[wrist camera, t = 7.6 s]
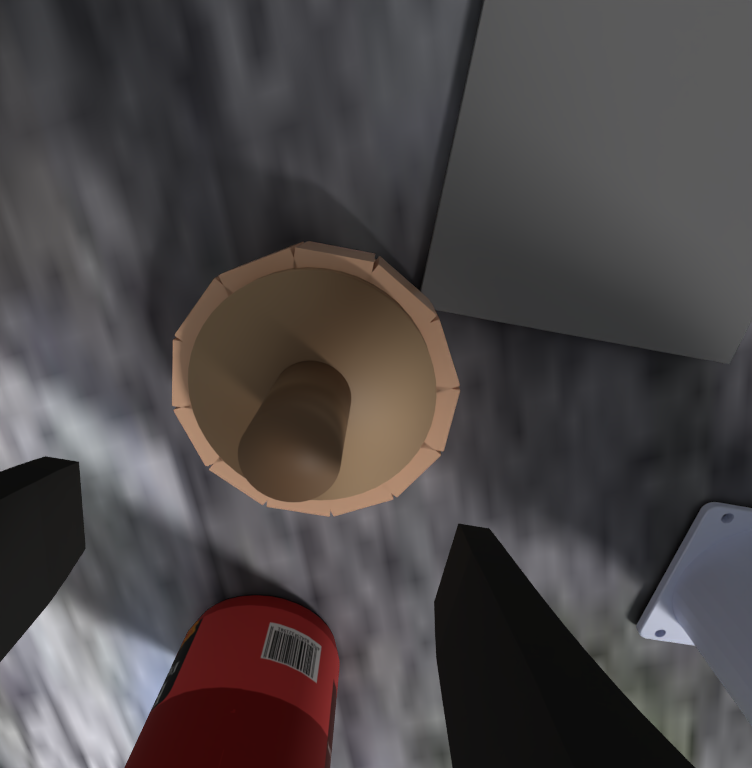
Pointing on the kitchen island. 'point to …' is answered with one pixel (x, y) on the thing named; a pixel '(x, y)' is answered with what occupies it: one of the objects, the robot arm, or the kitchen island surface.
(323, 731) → the canned food
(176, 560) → the kitchen island surface
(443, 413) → the tan round bowl
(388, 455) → the lid
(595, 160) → the mat
